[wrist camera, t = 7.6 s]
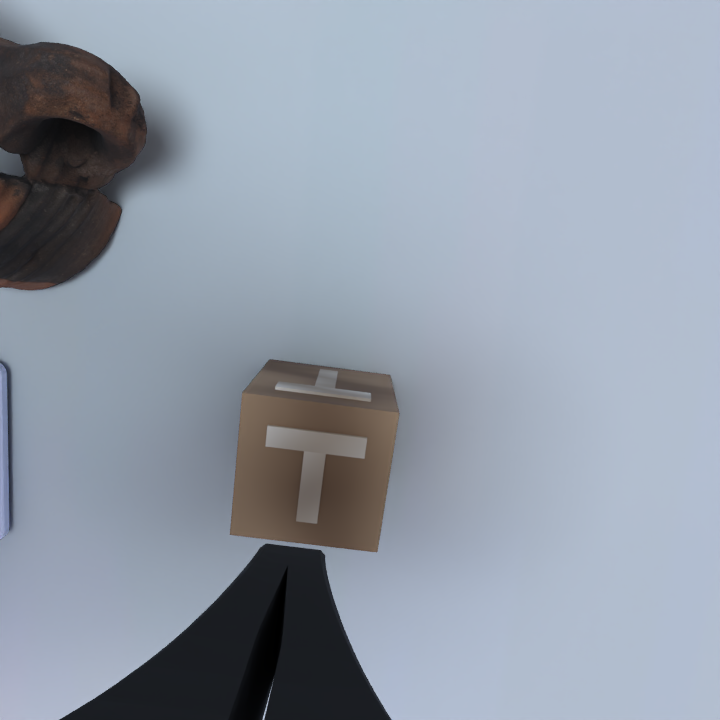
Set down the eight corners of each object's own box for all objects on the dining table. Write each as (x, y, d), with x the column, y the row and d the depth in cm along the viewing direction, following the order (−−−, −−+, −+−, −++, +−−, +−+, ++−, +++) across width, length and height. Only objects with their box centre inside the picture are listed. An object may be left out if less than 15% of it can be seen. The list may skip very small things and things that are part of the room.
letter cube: (258, 470, 22) (229, 536, 17) (270, 356, 21) (241, 390, 16) (373, 484, 22) (377, 554, 17) (390, 372, 21) (400, 410, 16)
